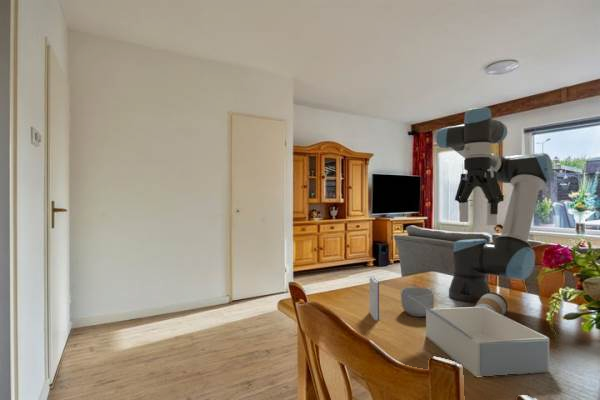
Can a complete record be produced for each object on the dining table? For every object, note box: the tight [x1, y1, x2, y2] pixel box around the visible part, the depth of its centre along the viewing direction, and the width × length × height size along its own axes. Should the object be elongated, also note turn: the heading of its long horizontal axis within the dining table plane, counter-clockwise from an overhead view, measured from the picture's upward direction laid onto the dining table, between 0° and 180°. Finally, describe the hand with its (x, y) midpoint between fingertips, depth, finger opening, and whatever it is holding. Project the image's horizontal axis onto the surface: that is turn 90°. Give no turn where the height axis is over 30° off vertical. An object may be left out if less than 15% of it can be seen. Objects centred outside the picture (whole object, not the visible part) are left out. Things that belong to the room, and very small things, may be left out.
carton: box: [425, 306, 550, 376], centre depth 85 cm, size 19×23×8 cm
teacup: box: [400, 285, 435, 317], centre depth 116 cm, size 14×11×8 cm
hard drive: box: [369, 276, 380, 321], centre depth 112 cm, size 2×8×12 cm, turn 0°
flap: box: [408, 295, 473, 339], centre depth 84 cm, size 7×20×1 cm
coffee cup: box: [474, 291, 508, 316], centre depth 106 cm, size 8×8×15 cm
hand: (476, 223), depth 106 cm, fingers open, 13 cm apart
